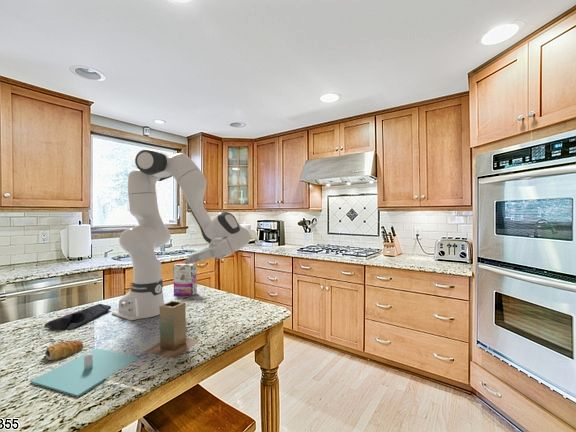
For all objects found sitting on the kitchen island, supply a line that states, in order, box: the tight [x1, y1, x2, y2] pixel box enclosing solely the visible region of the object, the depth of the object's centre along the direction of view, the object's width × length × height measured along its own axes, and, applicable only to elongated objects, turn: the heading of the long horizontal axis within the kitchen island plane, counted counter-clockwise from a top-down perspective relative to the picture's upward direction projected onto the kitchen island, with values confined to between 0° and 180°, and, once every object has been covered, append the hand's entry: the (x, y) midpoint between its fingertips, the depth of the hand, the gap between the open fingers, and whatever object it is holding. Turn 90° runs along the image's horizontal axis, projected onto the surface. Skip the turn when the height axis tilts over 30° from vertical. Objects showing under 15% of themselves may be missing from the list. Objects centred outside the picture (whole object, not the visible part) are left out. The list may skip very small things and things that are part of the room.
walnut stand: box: [144, 337, 200, 359], centre depth 91 cm, size 12×12×6 cm
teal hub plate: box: [29, 347, 140, 398], centre depth 78 cm, size 18×18×5 cm
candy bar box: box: [172, 263, 198, 297], centre depth 148 cm, size 11×5×16 cm, turn 80°
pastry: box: [44, 340, 84, 361], centre depth 88 cm, size 9×7×4 cm
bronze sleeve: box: [159, 300, 187, 351], centre depth 91 cm, size 6×6×14 cm
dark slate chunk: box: [43, 303, 112, 331], centre depth 116 cm, size 15×22×5 cm
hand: (192, 260), depth 102 cm, fingers open, 8 cm apart
